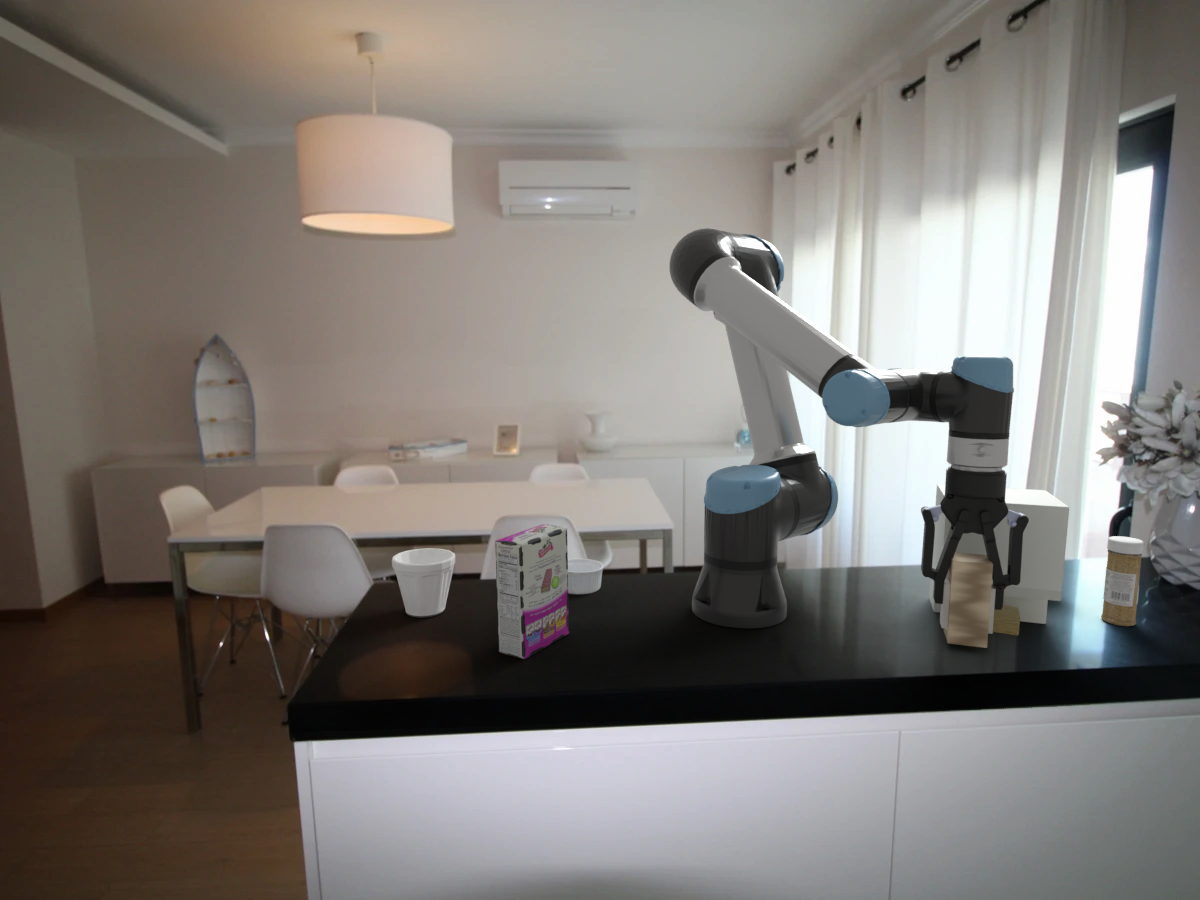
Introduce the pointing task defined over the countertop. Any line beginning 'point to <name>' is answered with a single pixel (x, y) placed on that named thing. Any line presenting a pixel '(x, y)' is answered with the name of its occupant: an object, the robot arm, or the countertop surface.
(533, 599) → the candy bar box
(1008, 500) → the cabinet
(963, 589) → the wooden rectangular block
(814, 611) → the countertop surface
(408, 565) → the cup
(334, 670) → the countertop surface
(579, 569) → the ramekin
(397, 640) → the countertop surface
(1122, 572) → the sprinkles bottle
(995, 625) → the small wooden block
